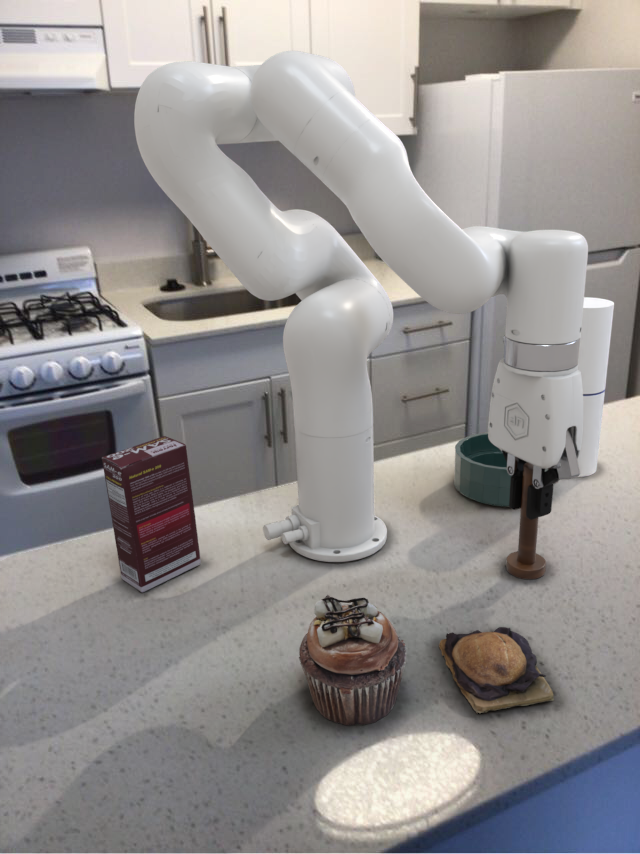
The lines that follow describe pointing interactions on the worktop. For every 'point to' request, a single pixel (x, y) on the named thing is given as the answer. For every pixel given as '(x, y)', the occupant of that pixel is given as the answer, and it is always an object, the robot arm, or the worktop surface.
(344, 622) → the cupcake
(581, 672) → the worktop surface
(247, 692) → the worktop surface
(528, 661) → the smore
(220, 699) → the worktop surface
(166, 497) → the supplement box
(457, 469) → the bowl
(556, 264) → the robot arm
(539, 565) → the paper towel holder
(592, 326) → the cylindrical container
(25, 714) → the worktop surface
